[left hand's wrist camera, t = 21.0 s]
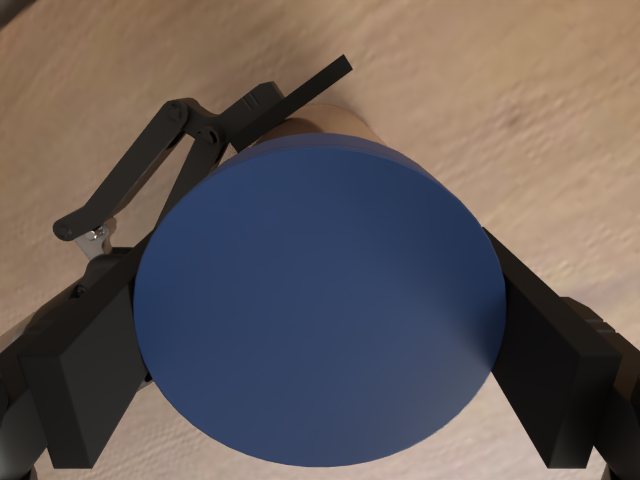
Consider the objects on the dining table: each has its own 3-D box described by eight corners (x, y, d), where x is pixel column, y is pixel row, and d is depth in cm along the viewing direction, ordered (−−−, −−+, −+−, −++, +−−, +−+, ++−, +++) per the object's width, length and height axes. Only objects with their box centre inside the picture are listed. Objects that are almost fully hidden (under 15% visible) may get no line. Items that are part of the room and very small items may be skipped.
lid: (539, 251, 12) (588, 291, 10) (353, 445, 14) (358, 510, 12) (270, 56, 10) (256, 51, 8) (115, 322, 13) (72, 373, 10)
